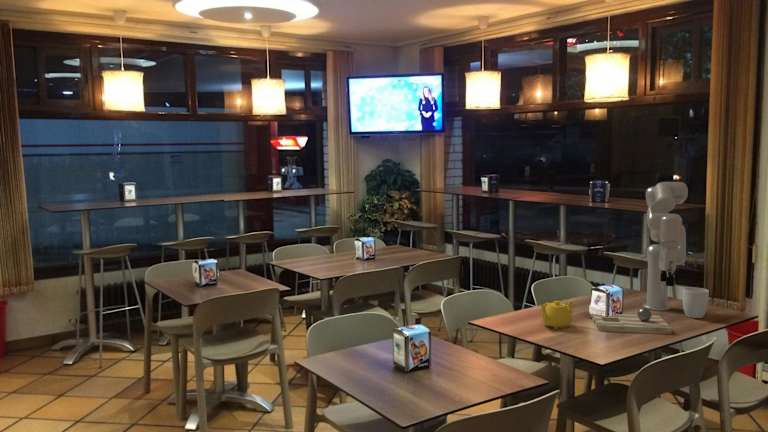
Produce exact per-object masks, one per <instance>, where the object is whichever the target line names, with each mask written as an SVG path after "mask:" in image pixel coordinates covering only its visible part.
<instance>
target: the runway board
mask: <svg viewBox="0 0 768 432" xmlns="http://www.w3.org/2000/svg"><path fill="white" fill-rule="evenodd" d="M593 313H594V312H591V314H590V315H591V316H590V318H592V319H591V320H592V322H593V323H594V325H595V327H596V329H597V330H598V331H599V332H618V333H620V332H621V333H641V334H642V333H643V334H661V335H672V332H673V328H672V326H670V325H669V324H668V323H667V321H665V320H664V319H663V318H662V317H661V316H660V315H652V316H651V319H650V320H648V321H642V320H640V319H639V318H638V316H637V314H623V313H619V314H618V313H615V314H616V315H613V316H608V317H606V316H602V315H598V314H593Z"/></svg>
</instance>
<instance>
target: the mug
mask: <svg viewBox="0 0 768 432" xmlns="http://www.w3.org/2000/svg"><path fill="white" fill-rule="evenodd" d="M709 294H710V291H709V290H708V289H707V288H703V287H696V286H687V287H683V289H682V307H683V312H684V314H685V316H686V317H687V316H688V317H687V318H689V317H692V318H691V319H694V318H700V319H702V318H704V317H705V316H706V313H707V311H708V307H709V299H710V297H709V296H710V295H709Z"/></svg>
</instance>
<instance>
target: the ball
mask: <svg viewBox="0 0 768 432" xmlns="http://www.w3.org/2000/svg"><path fill="white" fill-rule="evenodd" d="M636 315H637V316H638V318H639V319H640V320H642V321H648V320H650V319H651V316H653V314H652V311H651V309H648V308H644V307H640V308H638V310H637V313H636Z"/></svg>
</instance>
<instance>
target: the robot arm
mask: <svg viewBox="0 0 768 432" xmlns="http://www.w3.org/2000/svg"><path fill="white" fill-rule="evenodd" d="M688 193H689V189H688V186H687V184H686V183H684V182H683V181H661V182H658V183H656V185H655V186H650V187H648V188H647V189H646V190H645V202H646V206H647V211H646V224H647V227H648V228H649V232H650V233H649V234H650V238H651V240H652V241H653V242H656V243H655V244H653V243H652V244H650V245H648V247H647V249H646V257H647V260H646V261H647V283H646V302H644V303H643V304H642V308H648V309H649V310H650V311H651V310H653V311H658V312H659V311H660V312H661V311H662V312H663V311H664V312H666V311H670V310H671V306H670V305H669V304H668V295H669V294H668V292H669V287H674V286H675V276H676V275H675V273H676V272H675V271H676V270H677V266H678V265H679V266H680V265H684V264H685V262H686V260H687V259H686V258H687V240H686V239H687V237H686V236H687V234H686V228H685V226H684V224H683V218H682V217H681V215H680V214H677V213H669V212H672V211H673V210H674V209H675V207H676V205H681V204H683V203H684V202H685V201H686V200H687V199H688V195H689V194H688Z"/></svg>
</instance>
